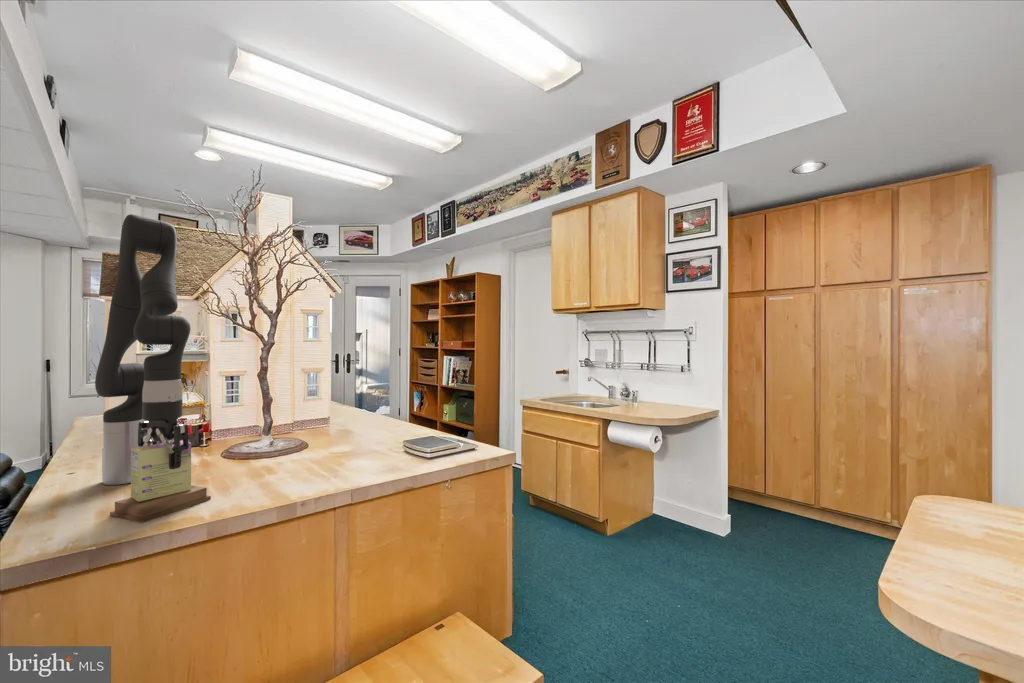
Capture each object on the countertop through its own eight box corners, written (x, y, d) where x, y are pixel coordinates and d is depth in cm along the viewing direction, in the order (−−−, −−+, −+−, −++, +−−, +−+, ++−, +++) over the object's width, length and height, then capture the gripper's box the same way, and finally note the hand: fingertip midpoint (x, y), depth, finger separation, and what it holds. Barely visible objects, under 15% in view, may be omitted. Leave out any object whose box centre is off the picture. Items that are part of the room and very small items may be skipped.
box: (183, 486, 112) (183, 439, 112) (191, 490, 108) (191, 442, 108) (130, 497, 103) (130, 447, 103) (137, 503, 100) (137, 450, 100)
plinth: (110, 515, 100) (110, 502, 100) (180, 494, 115) (180, 482, 115) (142, 522, 97) (142, 508, 97) (210, 499, 111) (210, 487, 111)
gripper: (125, 399, 105) (125, 467, 105) (166, 402, 100) (166, 474, 100) (159, 395, 112) (159, 460, 112) (199, 398, 107) (199, 465, 107)
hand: (162, 466), depth 106 cm, fingers open, 8 cm apart
